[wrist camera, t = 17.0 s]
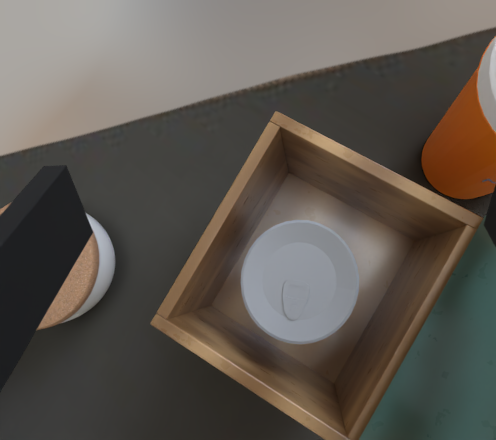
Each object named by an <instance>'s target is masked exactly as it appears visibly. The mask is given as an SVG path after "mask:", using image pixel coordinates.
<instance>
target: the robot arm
mask: <svg viewBox="0 0 496 440" xmlns="http://www.w3.org/2000/svg"><path fill="white" fill-rule="evenodd" d="M484 227H485V229H486V230H487V232H488V234H489V236H490V238H491V240H492V242H493V243H494V245H495V247H496V185H495V188H494V192H493V195H492V198H491V202H490V205H489V208H488V212H487V215H486V218H485V222H484ZM92 234H93V230H92V228H91V225H90V223H89V220H88V218H87V215H86V213H85V210H84V208H83V206H82V203H81V201H80V198H79V196H78V193H77V191H76V188H75V186H74V184H73V181H72V179H71V176H70V174H69V171H68V169H67V166H66V165H65V166H44V167H43V168H42V169H41V170H40V171H39V172H38V173H37V175H36V176H35V177H34V178H33V179H32V180H31V181H30V182H29V184H28V185H27V186H26V187H25V188H24V189H23V190H22V191H21V193H20V194H19V195H18V196H17V197H16V198H15V199H14V200H13V202H12V203H11V204H10V205H9V206H8V207H7V208H6V209H5V211H4V212H3V213H2V214H1V215H0V392H1V390H2V388H3V387H4V385H5V383H6V381H7V380H8V378H9V376H10V374H11V373H12V371H13V369H14V368H15V366H16V364H17V362H18V361H19V359H20V357H21V356H22V354H23V352H24V350H25V349H26V347H27V345H28V344H29V342H30V340H31V338H32V337H33V335H34V333H35V332H36V330H37V328H38V326H39V325H40V323H41V321H42V320H43V318H44V316H45V314H46V313H47V311H48V309H49V307H50V306H51V304H52V302H53V301H54V299H55V297H56V295H57V294H58V292H59V290H60V289H61V287H62V285H63V283H64V282H65V280H66V278H67V277H68V275H69V273H70V271H71V270H72V268H73V266H74V265H75V263H76V261H77V259H78V258H79V256H80V254H81V253H82V251H83V249H84V247H85V246H86V244H87V242H88V240H89V239H90V237H91V235H92Z"/></svg>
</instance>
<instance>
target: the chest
mask: <svg viewBox="0 0 496 440" xmlns="http://www.w3.org/2000/svg"><path fill="white" fill-rule="evenodd" d="M292 220H309V221H313V222H317V223H320V224H322V225H324V226H326V227H328V228H330V229H332V230H333V231H334V232H336V233H337V234H338V235H339V236H340V237H341V238H342V239H343V240H344V241H345V242H346V243H347V245H348V246H349V248H350V250H351V252H352V253H353V255H354V258H355V261H356V264H357V267H358V273H359V292H358V296H357V301H356V304H355V306H354V308H353V311H352V313H351V315H350V316H349V318H348V319H347V320H346V322H345V323H344V324H343V325H342V326H341V327H340V328H339V329H338V330H337V331H336V332H335V333H333V334H332V335H330V336H328V337H327V338H325V339H323V340H320V341H317V342H314V343H308V344H292V343H287V342H283V341H280V340H277V339H275V338H274V337H272V336H270V335H268V334H267V333H266V332H264V331H263V330H262V329H261V328H260V327H258V325H257V324H256V323H255V322H254V320H253V319H252V318H251V316H250V314H249V313H248V311H247V309H246V307H245V304H244V300H243V297H242V292H241V271H242V267H243V263H244V259H245V257H246V255H247V253H248V251H249V249H250V248H251V246H252V245H253V243H254V242H255V241H256V239H257V238H259V237H260V236H261V235H262V234H263V233H264V232H265V231H267V230H268V229H270V228H271V227H273V226H275V225H277V224H280V223H283V222H286V221H292ZM482 220H483V218H482V217H480V216H478V215H476V214H474V213H472V212H471V211H469V210H467V209H465V208H463V207H461V206H459V205H457V204H455V203H453V202H451V201H449V200H447V199H445V198H443V197H442V196H440V195H438V194H436V193H434V192H432V191H430V190H428V189H426V188H424V187H422V186H420V185H418V184H416V183H414V182H413V181H411V180H409V179H407V178H405V177H403V176H401V175H399V174H397V173H395V172H393V171H391V170H389V169H387V168H385V167H384V166H382V165H380V164H378V163H376V162H374V161H372V160H370V159H368V158H366V157H364V156H362V155H360V154H358V153H356V152H355V151H353V150H351V149H349V148H347V147H345V146H343V145H341V144H339V143H337V142H335V141H333V140H331V139H329V138H327V137H326V136H324V135H322V134H320V133H318V132H316V131H314V130H312V129H310V128H308V127H306V126H304V125H302V124H300V123H298V122H296V121H295V120H293V119H291V118H289V117H287V116H285V115H283V114H281V113H279V112H277V111H276V112H275V113H274V115H273V116H272V118H271V120H270V122H269V123H268V125H267V127H266V128H265V130H264V132H263V133H262V135H261V137H260V138H259V140H258V142H257V143H256V145H255V147H254V149H253V150H252V152H251V154H250V155H249V157H248V159H247V160H246V162H245V164H244V165H243V167H242V169H241V171H240V172H239V174H238V176H237V177H236V179H235V181H234V182H233V184H232V186H231V187H230V189H229V191H228V193H227V194H226V196H225V198H224V199H223V201H222V203H221V204H220V206H219V208H218V209H217V211H216V213H215V214H214V216H213V218H212V220H211V221H210V223H209V225H208V226H207V228H206V230H205V231H204V233H203V235H202V236H201V238H200V240H199V242H198V243H197V245H196V247H195V248H194V250H193V252H192V253H191V255H190V257H189V258H188V260H187V262H186V264H185V265H184V267H183V269H182V270H181V272H180V274H179V275H178V277H177V279H176V280H175V282H174V284H173V286H172V287H171V289H170V291H169V292H168V294H167V296H166V297H165V299H164V301H163V302H162V304H161V306H160V308H159V309H158V311H157V314H156V315H155V316H154V318H153V320H152V321H151V325H152V326H154V327H155V328H157V329H158V330H160V331H161V332H163V333H164V334H166V335H167V336H169V337H170V338H172V339H173V340H175V341H176V342H178V343H179V344H181V345H182V346H184V347H186V348H187V349H189V350H190V351H192V352H193V353H195V354H196V355H198V356H199V357H201V358H202V359H204V360H205V361H207V362H208V363H210V364H211V365H213V366H214V367H216V368H217V369H219V370H220V371H222V372H223V373H225V374H226V375H228V376H229V377H231V378H232V379H234V380H235V381H237V382H238V383H240V384H241V385H243V386H245V387H246V388H248V389H249V390H251V391H252V392H254V393H255V394H257V395H258V396H260V397H261V398H263V399H264V400H266V401H267V402H269V403H270V404H272V405H273V406H275V407H276V408H278V409H279V410H281V411H282V412H284V413H285V414H287V415H288V416H290V417H291V418H293V419H294V420H296V421H297V422H299V423H300V424H302V425H304V426H305V427H307V428H308V429H310V430H311V431H313V432H314V433H316V434H317V435H319V436H320V437H322V438H323V439H325V440H359V438H360V437H361V435H362V433H363V431H364V429H365V428H366V426H367V424H368V422H369V421H370V419H371V417H372V415H373V414H374V412H375V410H376V408H377V406H378V405H379V403H380V401H381V399H382V398H383V396H384V394H385V392H386V390H387V389H388V387H389V385H390V383H391V382H392V380H393V378H394V376H395V374H396V373H397V371H398V369H399V367H400V366H401V364H402V362H403V360H404V358H405V357H406V355H407V353H408V351H409V350H410V348H411V346H412V344H413V342H414V341H415V339H416V337H417V335H418V334H419V332H420V330H421V328H422V327H423V325H424V323H425V321H426V319H427V318H428V316H429V314H430V312H431V311H432V309H433V307H434V305H435V303H436V302H437V300H438V298H439V296H440V295H441V293H442V291H443V289H444V287H445V286H446V284H447V282H448V280H449V279H450V277H451V275H452V273H453V271H454V270H455V268H456V266H457V264H458V263H459V261H460V259H461V257H462V255H463V254H464V252H465V250H466V248H467V247H468V245H469V243H470V241H471V240H472V238H473V236H474V234H475V232H476V231H477V229H478V227H479V225H480V224H481V222H482Z"/></svg>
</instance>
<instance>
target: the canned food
mask: <svg viewBox="0 0 496 440" xmlns="http://www.w3.org/2000/svg"><path fill="white" fill-rule="evenodd" d="M241 292H242V297H243V300H244V304H245V307H246V309H247V311H248V313H249V314H250V316H251V318H252V319H253V320H254V322H255V323H256V324H257V325H258V327H260V328H261V329H262V330H263V331H264V332H266V333H267V334H268V335H270V336H272V337H274V338H275V339H277V340H280V341H283V342H287V343H292V344H308V343H314V342H317V341H320V340H323V339H325V338H327V337H328V336H330V335H332V334H333V333H335V332H336V331H337V330H338V329H339V328H340V327H341V326H342V325H343V324H344V323H345V322H346V320H347V319H348V318H349V316H350V315H351V313H352V311H353V308H354V306H355V304H356V301H357V296H358V292H359V273H358V267H357V264H356V261H355V258H354V255H353V253H352V252H351V250H350V248H349V246H348V245H347V243H346V242H345V241H344V240H343V239H342V238H341V237H340V236H339V235H338V234H337V233H336V232H334V231H333V230H332V229H330V228H328V227H326V226H324V225H322V224H320V223H317V222H313V221H309V220H292V221H286V222H283V223H280V224H277V225H275V226H273V227H271V228H270V229H268V230H267V231H265V232H264V233H263V234H262V235H261V236H260V237H259V238H257V239H256V241H255V242H254V243H253V245H252V246H251V248H250V249H249V251H248V253H247V255H246V257H245V259H244V263H243V267H242V271H241Z"/></svg>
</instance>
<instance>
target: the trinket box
mask: <svg viewBox="0 0 496 440" xmlns="http://www.w3.org/2000/svg"><path fill="white" fill-rule="evenodd" d="M10 204H11V203H9V204H8V205H6V206H5V207H3V208H1V209H0V215H1V214H2V213H3V212H4V211H5V209H6V208H7V207H8V206H9V205H10ZM86 215H87V218H88V220H89V223H90V225H91V228H92V230H93V234H92V235H91V237H90V239H89V240H88V242H87V244H86V246H85V247H84V249H83V251H82V253H81V254H80V256H79V258H78V259H77V261H76V263H75V265H74V266H73V268H72V270H71V271H70V273H69V275H68V277H67V278H66V280H65V282H64V283H63V285H62V287H61V289H60V290H59V292H58V294H57V295H56V297H55V299H54V301H53V302H52V304H51V306H50V307H49V309H48V311H47V313H46V314H45V316H44V318H43V320H42V321H41V323H40V325H39V326H38V328H37V330H40V329H44V328H48V327H52V326H54V325H57V324H60V323H64V322H67V321H69V320H72V319H74V318H76V317H79V316H80V315H82V314H84V313H85V312H87V311H88V310H90V309H91V308H92V307H94V306H95V305H96V304H97V303H98V302H99V301H100V300H101V298H102V297H103V296H104V294H105V293H106V291H107V290H108V288H109V286H110V284H111V282H112V279H113V275H114V271H115V253H114V248H113V245H112V242H111V240H110V238H109V236H108V234H107V232H106V231H105V229H104V228H103V227H102V226H101V225H100V224H99V223H98V222H97V221H96V220H95V219H94V218H93V217H91V216H90V215H88V214H87V213H86Z"/></svg>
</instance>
